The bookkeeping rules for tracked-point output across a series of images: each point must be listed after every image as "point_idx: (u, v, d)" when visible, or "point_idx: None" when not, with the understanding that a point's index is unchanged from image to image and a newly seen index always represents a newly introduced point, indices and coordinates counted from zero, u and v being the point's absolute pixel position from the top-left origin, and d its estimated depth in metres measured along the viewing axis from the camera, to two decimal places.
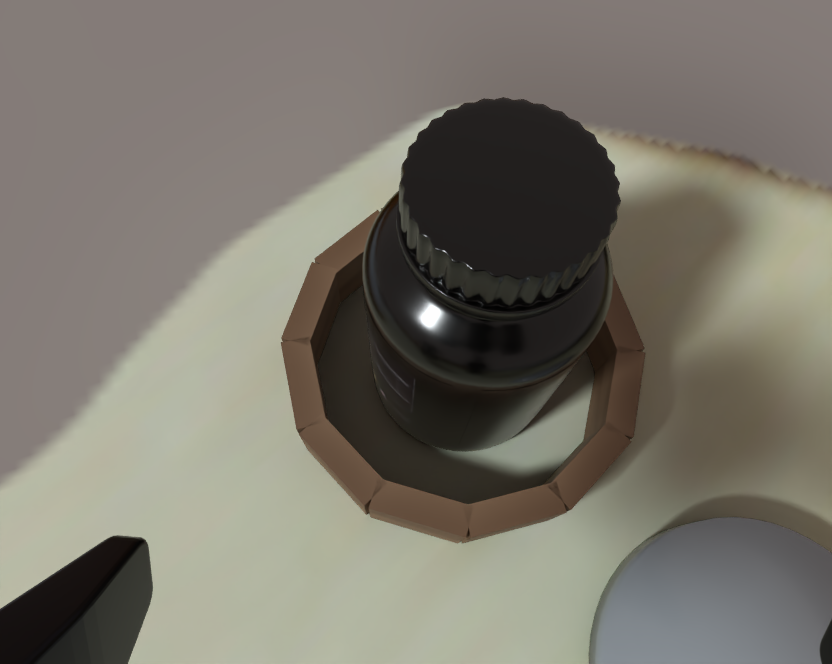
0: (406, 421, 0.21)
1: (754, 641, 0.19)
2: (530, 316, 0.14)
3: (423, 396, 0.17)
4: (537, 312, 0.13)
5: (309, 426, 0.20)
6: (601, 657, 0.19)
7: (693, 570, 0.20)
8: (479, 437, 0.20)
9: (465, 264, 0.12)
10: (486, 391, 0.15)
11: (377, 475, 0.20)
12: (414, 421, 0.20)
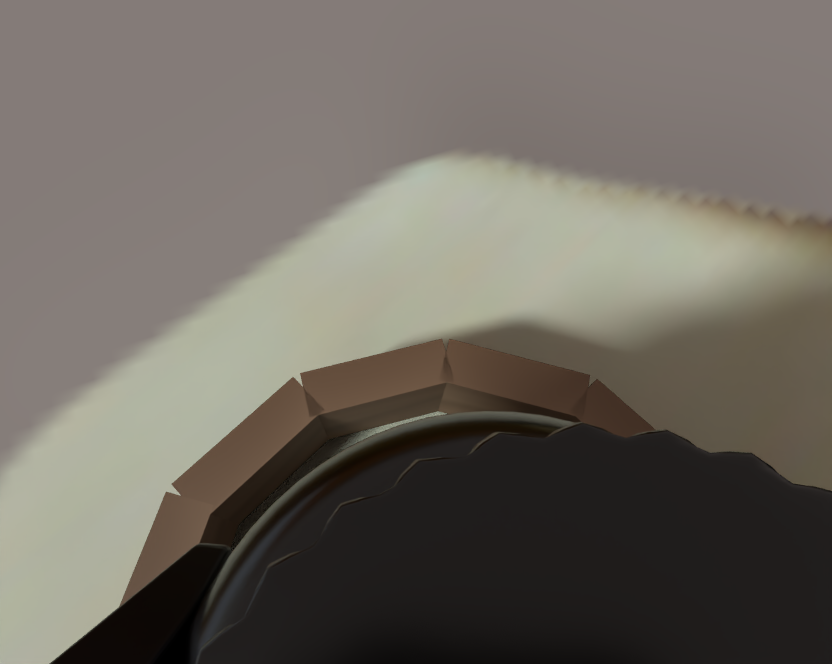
0: None
1: None
2: None
3: None
4: None
5: None
6: None
7: None
8: None
9: None
10: None
11: None
12: None
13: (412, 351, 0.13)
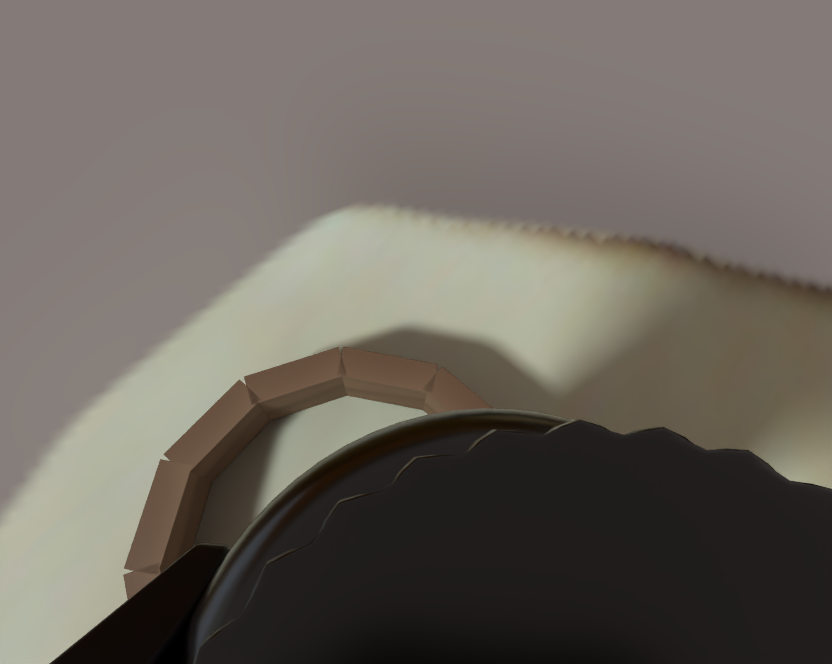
0: None
1: None
2: None
3: None
4: None
5: None
6: None
7: None
8: None
9: None
10: None
11: None
12: None
13: (318, 357, 0.20)
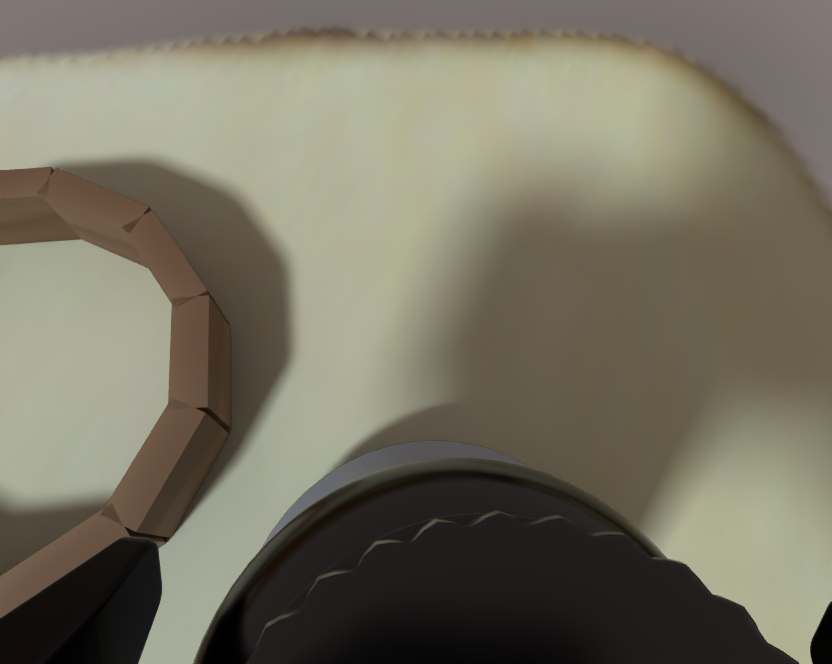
0: None
1: None
2: None
3: None
4: None
5: None
6: None
7: None
8: None
9: None
10: None
11: None
12: None
13: None
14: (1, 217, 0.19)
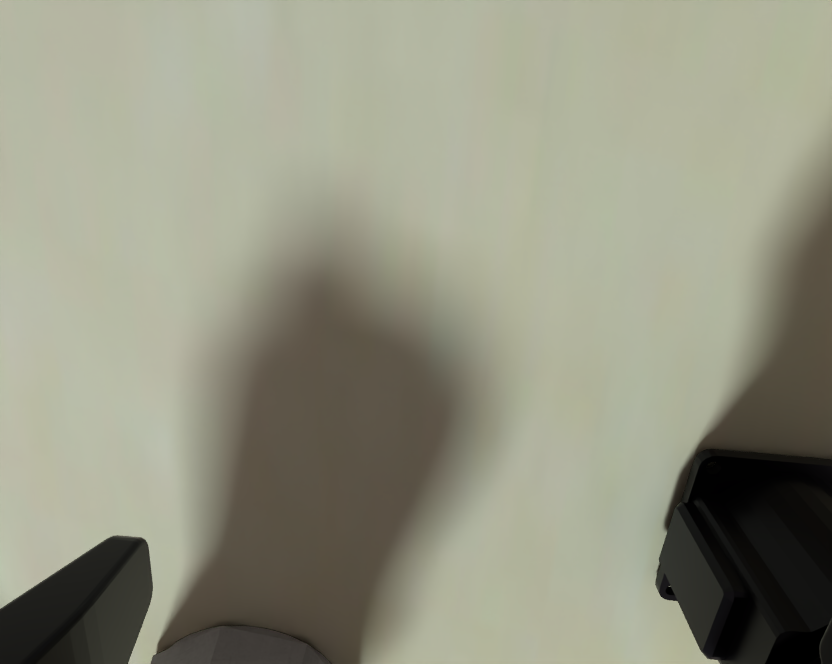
0: None
1: None
2: None
3: None
4: None
5: None
6: None
7: None
8: None
9: None
10: None
11: None
12: None
13: None
14: None
